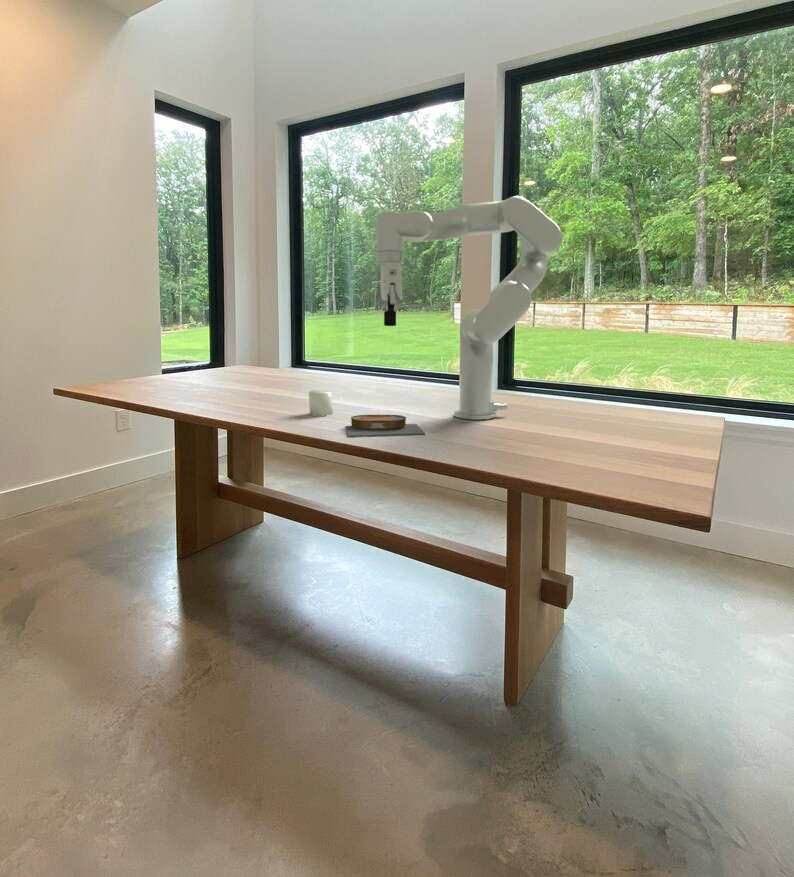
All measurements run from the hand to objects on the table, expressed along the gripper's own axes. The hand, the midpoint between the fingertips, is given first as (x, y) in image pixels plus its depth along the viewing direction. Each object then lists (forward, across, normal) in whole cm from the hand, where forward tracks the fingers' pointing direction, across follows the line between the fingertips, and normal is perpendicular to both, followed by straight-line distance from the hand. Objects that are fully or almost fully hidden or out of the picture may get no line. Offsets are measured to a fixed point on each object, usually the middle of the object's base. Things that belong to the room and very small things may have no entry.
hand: (390, 325), depth 169 cm
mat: (+27, -16, +4) cm, 32 cm away
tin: (+26, -8, +4) cm, 27 cm away
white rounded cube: (+27, +10, +20) cm, 35 cm away
